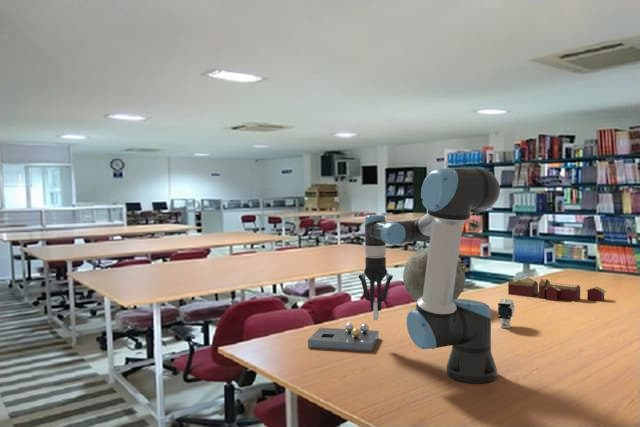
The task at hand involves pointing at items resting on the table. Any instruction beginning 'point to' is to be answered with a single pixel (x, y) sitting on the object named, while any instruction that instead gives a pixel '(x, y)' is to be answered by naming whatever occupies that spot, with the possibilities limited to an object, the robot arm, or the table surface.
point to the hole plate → (343, 340)
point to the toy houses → (552, 290)
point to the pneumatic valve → (505, 312)
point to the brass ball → (355, 332)
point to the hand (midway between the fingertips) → (376, 319)
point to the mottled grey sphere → (416, 275)
